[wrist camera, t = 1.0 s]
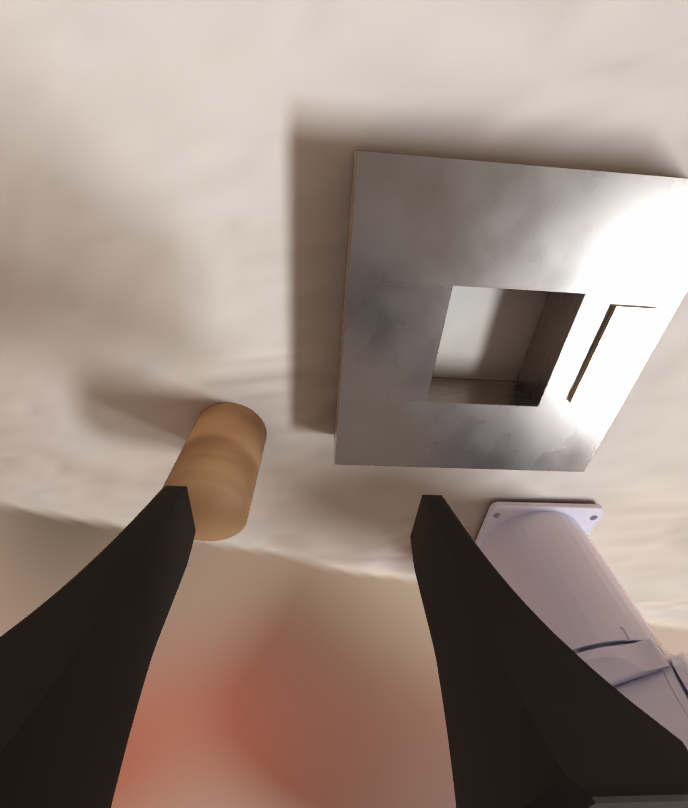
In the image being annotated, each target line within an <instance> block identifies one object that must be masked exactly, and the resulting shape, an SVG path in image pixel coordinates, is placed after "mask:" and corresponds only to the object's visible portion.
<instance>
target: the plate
mask: <svg viewBox="0 0 688 808" xmlns="http://www.w3.org/2000/svg"><path fill="white" fill-rule="evenodd" d="M453 285H455V286H471V287H487V288H503V289H519V290H535V291H550V293H549V296H548V299H547V301H546V304H545V307H544V309H543V312H542V315H541V318H540V320H539V323H538V326H537V328H536V331H535V334H534V336H533V339H532V342H531V345H530V347H529V350H528V353H527V355H526V358H525V361H524V363H523V366H522V369H521V372H520V374H519V377H518V380H517V381H495V380H474V379H452V378H432V375H433V371H434V366H435V362H436V358H437V353H438V349H439V344H440V340H441V336H442V331H443V327H444V322H445V318H446V313H447V309H448V305H449V300H450V296H451V291H452V287H453ZM687 290H688V179H686V178H674V177H662V176H651V175H639V174H627V173H615V172H604V171H592V170H580V169H568V168H557V167H545V166H533V165H522V164H510V163H498V162H486V161H475V160H463V159H451V158H439V157H428V156H416V155H404V154H392V153H381V152H369V151H355V152H354V164H353V178H352V192H351V206H350V221H349V235H348V249H347V263H346V277H345V292H344V306H343V320H342V334H341V348H340V363H339V377H338V391H337V405H336V419H335V434H334V443H335V464H342V465H375V466H408V467H440V468H473V469H506V470H538V471H571V472H584V470H585V469H586V467H587V465H588V463H589V462H590V460H591V458H592V456H593V455H594V453H595V451H596V449H597V448H598V446H599V444H600V442H601V440H602V439H603V437H604V435H605V433H606V432H607V430H608V428H609V426H610V425H611V423H612V421H613V419H614V418H615V416H616V414H617V412H618V411H619V409H620V407H621V405H622V404H623V402H624V400H625V398H626V397H627V395H628V393H629V391H630V390H631V388H632V386H633V384H634V383H635V381H636V379H637V377H638V376H639V374H640V372H641V370H642V369H643V367H644V365H645V363H646V362H647V360H648V358H649V356H650V354H651V353H652V351H653V349H654V347H655V346H656V344H657V342H658V340H659V339H660V337H661V335H662V333H663V332H664V330H665V328H666V326H667V325H668V323H669V321H670V319H671V318H672V316H673V314H674V312H675V311H676V309H677V307H678V305H679V304H680V302H681V300H682V298H683V297H684V295H685V293H686V291H687Z"/></svg>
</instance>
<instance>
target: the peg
mask: <svg viewBox="0 0 688 808" xmlns="http://www.w3.org/2000/svg"><path fill="white" fill-rule="evenodd" d="M265 440H266V428H265V425H264V423H263V421H262V420H261V418H260V417H259V416H258V415H257V414H256V413H255V412H253V411H252V410H251V409H249V408H247V407H245V406H242V405H239V404H234V403H219V404H215V405H212V406H210V407H208V408H206V409H205V410H204V411H203V412H202V413H201V414H200V416H199V417H198V419H197V421H196V423H195V425H194V427H193V429H192V431H191V433H190V435H189V437H188V439H187V441H186V443H185V445H184V447H183V449H182V451H181V453H180V455H179V457H178V459H177V461H176V463H175V465H174V467H173V468H172V470H171V472H170V474H169V476H168V478H167V480H166V482H165V484H164V486H163V488H164V487H165V486H166V485H167V486H187V489H188V494H189V499H190V504H191V509H192V514H193V519H194V524H195V529H196V532H195V536H194V539H195V540H202V541H217V540H223V539H226V538H229V537H232V536H234V535H236V534H237V533H239V532H240V531H241V530H242V529H243V528H244V526H245V524H246V522H247V518H248V514H249V510H250V505H251V501H252V497H253V492H254V488H255V483H256V479H257V475H258V470H259V466H260V462H261V457H262V453H263V449H264V444H265Z"/></svg>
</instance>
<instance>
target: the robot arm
mask: <svg viewBox="0 0 688 808" xmlns="http://www.w3.org/2000/svg"><path fill="white" fill-rule="evenodd" d="M603 512H604V509H603V508H602V506H601V505H599V504H573V503H532V502H494V503H493V504H491V506H490V507H489V510H488V512H487V515H486V517H485V519H484V522H483V524H482V527H481V529H480V532H479V534H478V536H477V539H476V541H475V542H474V540H473V539H472V538H471V536H470V535H469V534H468V532H467V531H466V529H465V528H464V527H463V525H462V524H461V522H460V521H459V519H458V518H457V517H456V515H455V514H454V512H453V511H452V509H451V508H450V506H449V505H448V504H447V502H446V501H445V499H444V498H443V497H442V496H441V495H422V498H421V501H420V505H419V509H418V512H417V516H416V519H415V523H414V526H413V530H412V533H411V546H412V554H413V561H414V568H415V573H416V577H417V581H418V585H419V589H420V594H421V598H422V602H423V605H424V610H425V613H426V618H427V622H428V626H429V629H430V634H431V638H432V642H433V646H434V651H435V656H436V660H437V666H438V673H439V679H440V685H441V692H442V698H443V705H444V712H445V719H446V726H447V734H448V740H449V749H450V756H451V765H452V772H453V781H454V790H455V799H456V808H688V654H686V653H684V652H679V653H678V654H676V655H672V654H670V653H669V652H668V651H666V650H665V649H664V647H663V646H662V644H661V643H660V641H659V640H658V638H657V637H656V636H655V634H654V633H653V631H652V630H651V628H650V627H649V625H648V624H647V622H646V621H645V619H644V618H643V616H642V615H641V613H640V612H639V611H638V609H637V608H636V606H635V605H634V603H633V602H632V600H631V599H630V597H629V596H628V594H627V593H626V591H625V590H624V589H623V587H622V586H621V584H620V583H619V581H618V580H617V578H616V577H615V575H614V574H613V572H612V571H611V570H610V568H609V567H608V565H607V564H606V562H605V561H604V559H603V558H602V556H601V555H600V553H599V552H598V550H597V549H596V548H595V546H594V545H593V543H592V542H591V540H590V539H589V537H588V535H589V534H590V532H591V531H592V529H593V528H594V526H595V525H596V523H597V522H598V520H599V519H600V517H601V516H602V514H603ZM195 532H196V529H195V524H194V519H193V514H192V509H191V504H190V499H189V494H188V489H187V486H167V485H166V486H165V487H164V488H162V490H161V491H160V492H159V493H158V494H157V495H156V496H155V497H154V498H153V499H152V500H151V501H150V502H149V504H148V505H147V506H146V507H145V508H144V509H143V510H142V511H141V512H140V513H139V514H138V515H137V516H136V517H135V518H134V519H133V521H132V522H131V523H130V524H129V525H128V526H127V527H126V528H125V529H124V530H123V531H122V532H121V533H120V534H119V535H118V536H117V537H116V538H115V539H114V540H113V541H112V542H111V543H110V544H109V545H108V546H107V547H106V548H105V549H104V550H103V551H102V552H101V553H100V554H99V555H98V556H96V557H95V558H94V559H93V560H92V561H91V562H90V563H89V564H88V565H87V566H86V567H85V568H84V569H82V570H81V571H80V572H79V573H78V574H77V575H76V576H75V577H74V578H73V579H71V580H70V581H69V582H68V583H67V584H66V585H65V586H63V587H62V588H61V589H60V590H59V591H58V592H56V593H55V594H54V595H53V596H52V597H50V598H49V599H48V600H47V601H46V602H44V603H43V604H42V605H41V606H40V607H38V608H37V609H36V610H35V611H33V612H32V613H31V614H30V615H28V616H27V617H26V618H24V619H23V620H22V621H21V622H19V623H18V624H17V625H15V626H14V627H13V628H12V629H10V630H9V631H8V632H6V633H5V634H4V635H2V636H1V637H0V808H111V805H112V801H113V797H114V792H115V788H116V784H117V781H118V777H119V773H120V769H121V765H122V761H123V757H124V753H125V749H126V745H127V741H128V738H129V734H130V731H131V727H132V723H133V720H134V716H135V713H136V709H137V705H138V702H139V698H140V695H141V691H142V688H143V684H144V681H145V678H146V674H147V671H148V667H149V664H150V661H151V657H152V655H153V652H154V649H155V646H156V643H157V640H158V638H159V636H160V633H161V630H162V628H163V625H164V623H165V620H166V618H167V615H168V612H169V610H170V607H171V605H172V602H173V599H174V597H175V595H176V592H177V590H178V587H179V584H180V582H181V579H182V576H183V574H184V571H185V569H186V566H187V563H188V559H189V555H190V552H191V548H192V544H193V540H194V536H195Z"/></svg>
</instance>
